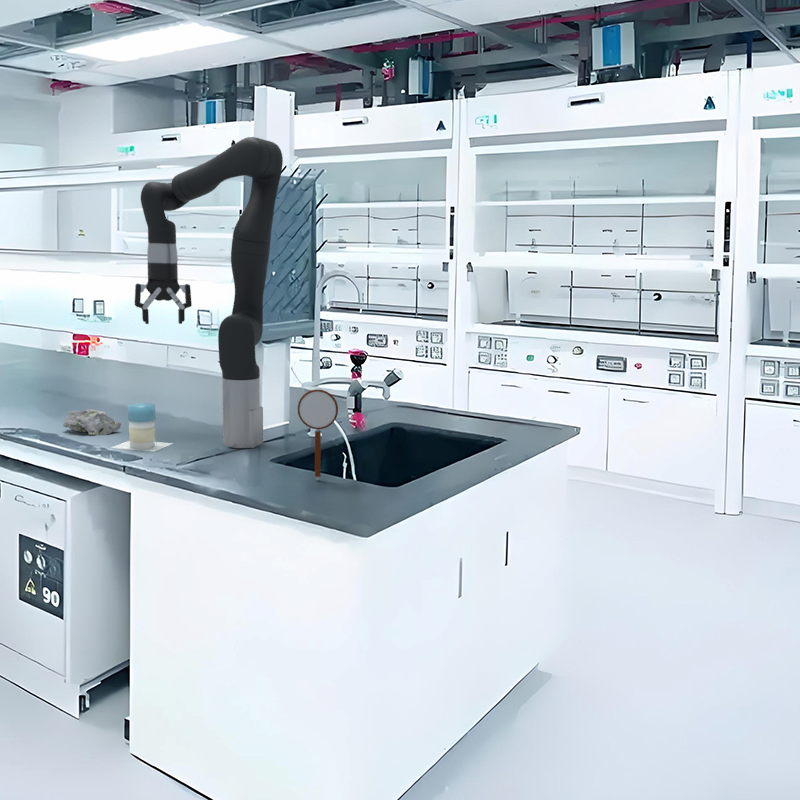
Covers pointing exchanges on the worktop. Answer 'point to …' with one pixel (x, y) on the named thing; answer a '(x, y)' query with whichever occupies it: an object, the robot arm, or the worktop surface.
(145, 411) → the cap
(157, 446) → the mat
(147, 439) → the jar
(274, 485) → the worktop surface
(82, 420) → the mineral specimen
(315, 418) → the magnifying glass
